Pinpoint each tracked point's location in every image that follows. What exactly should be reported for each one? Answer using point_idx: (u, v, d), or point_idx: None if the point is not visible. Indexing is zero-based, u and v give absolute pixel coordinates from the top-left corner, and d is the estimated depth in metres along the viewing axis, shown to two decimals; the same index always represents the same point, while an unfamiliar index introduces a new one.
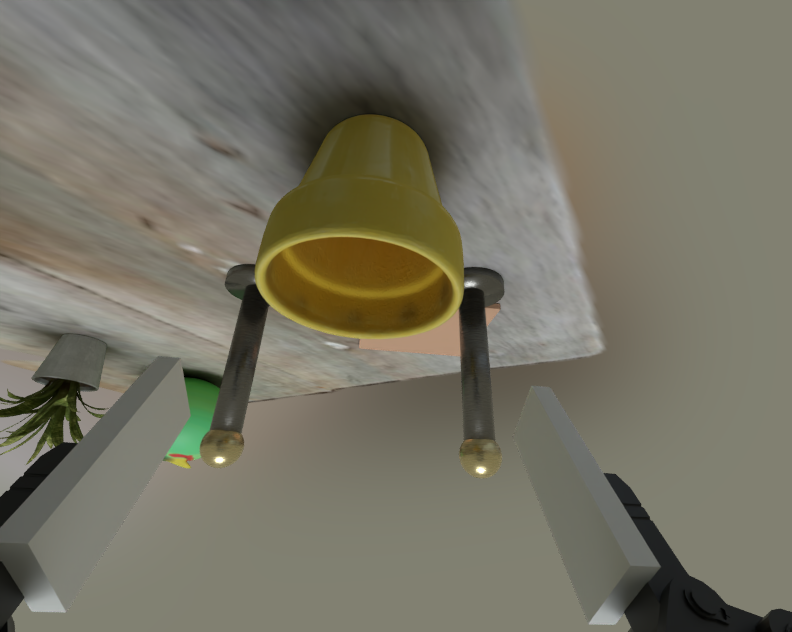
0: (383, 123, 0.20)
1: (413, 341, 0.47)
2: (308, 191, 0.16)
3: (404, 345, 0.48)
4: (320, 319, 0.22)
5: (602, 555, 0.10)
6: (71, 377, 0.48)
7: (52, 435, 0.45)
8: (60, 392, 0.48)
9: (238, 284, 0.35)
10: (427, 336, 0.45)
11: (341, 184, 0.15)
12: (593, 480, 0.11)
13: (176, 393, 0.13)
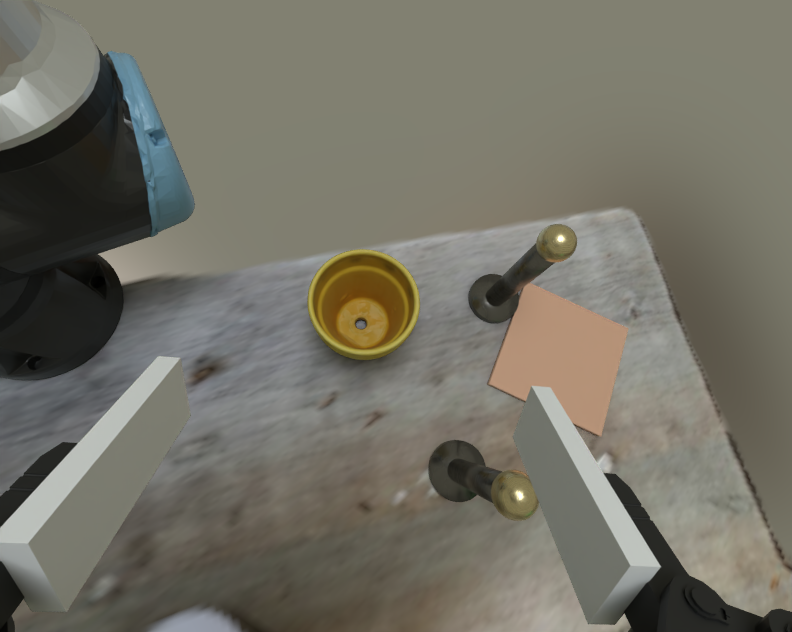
0: None
1: (585, 368, 0.45)
2: None
3: (595, 381, 0.45)
4: (393, 341, 0.34)
5: (602, 555, 0.10)
6: None
7: None
8: None
9: (444, 482, 0.39)
10: (574, 351, 0.45)
11: None
12: (593, 480, 0.11)
13: (176, 393, 0.13)
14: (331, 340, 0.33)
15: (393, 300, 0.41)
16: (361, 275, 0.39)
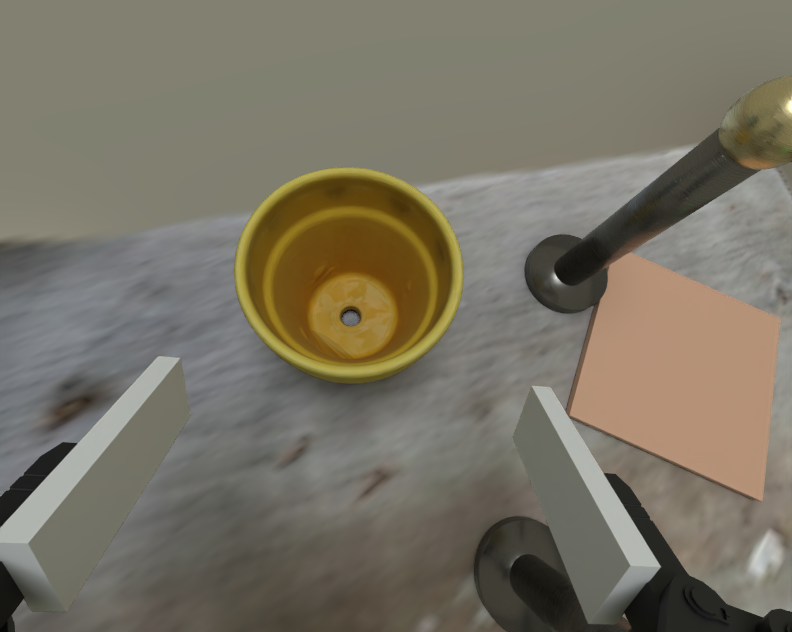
0: None
1: (722, 385, 0.27)
2: None
3: (741, 406, 0.27)
4: (412, 346, 0.17)
5: (602, 555, 0.10)
6: None
7: None
8: None
9: (506, 601, 0.21)
10: (702, 357, 0.28)
11: None
12: (593, 480, 0.11)
13: (176, 393, 0.13)
14: (282, 347, 0.16)
15: (406, 273, 0.23)
16: (348, 227, 0.22)
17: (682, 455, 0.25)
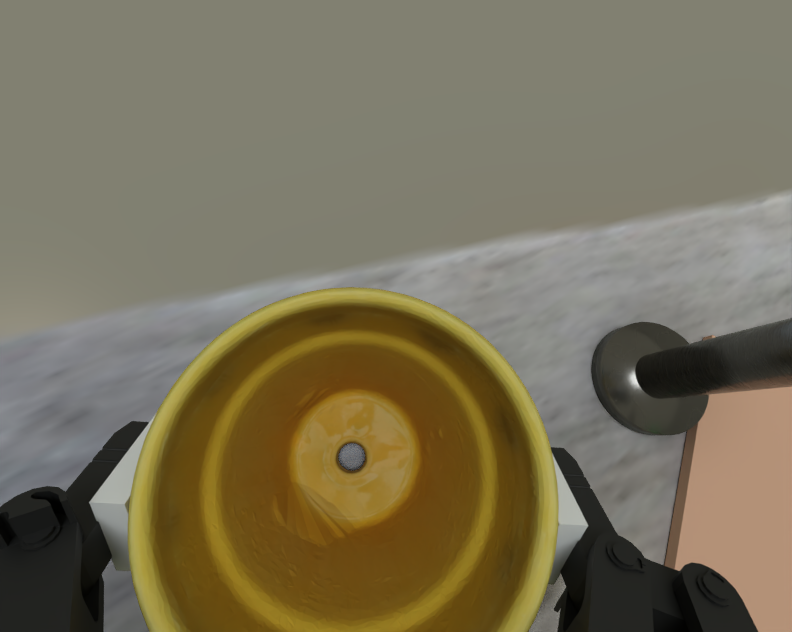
0: None
1: None
2: None
3: None
4: None
5: None
6: None
7: None
8: None
9: None
10: None
11: None
12: None
13: None
14: None
15: (436, 414, 0.15)
16: (349, 353, 0.14)
17: None
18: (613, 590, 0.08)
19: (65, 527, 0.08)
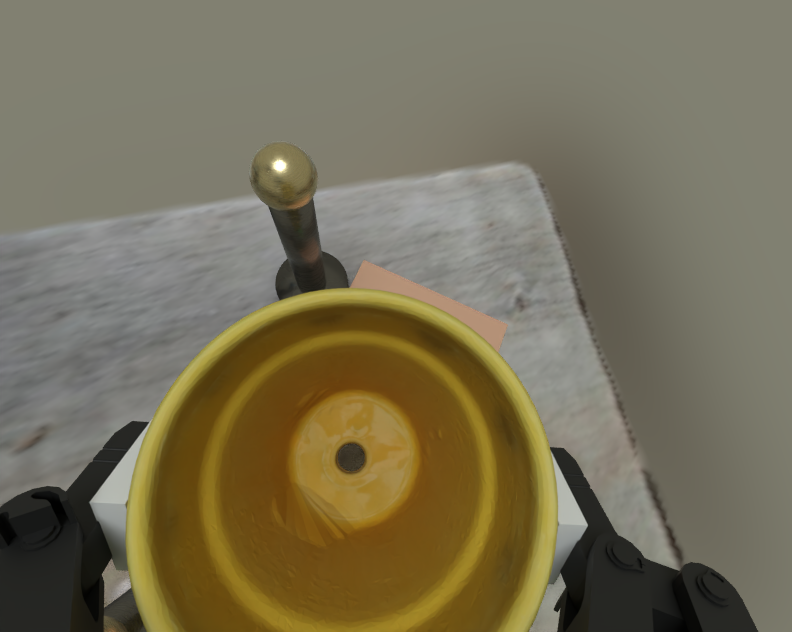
0: None
1: None
2: None
3: None
4: None
5: None
6: None
7: None
8: None
9: None
10: None
11: None
12: None
13: None
14: None
15: (435, 414, 0.15)
16: (348, 354, 0.14)
17: None
18: (613, 590, 0.08)
19: (65, 527, 0.08)
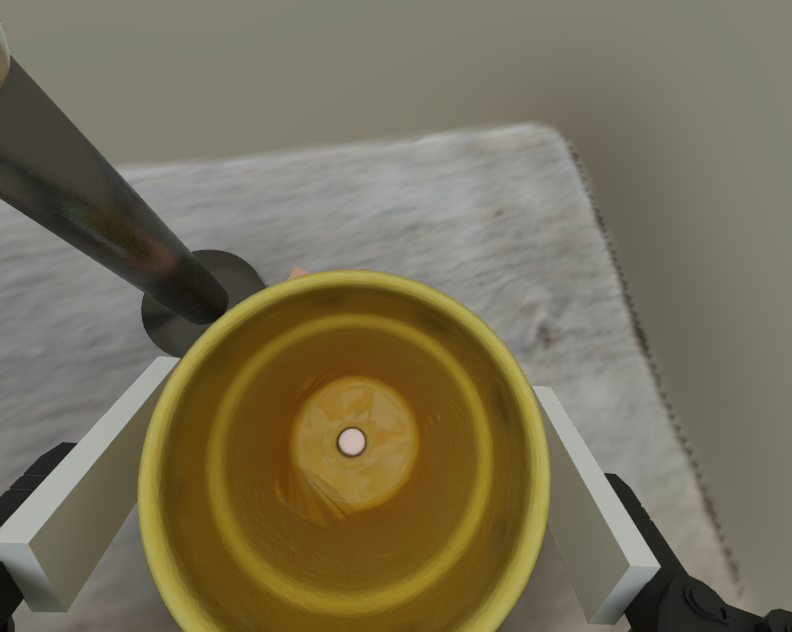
0: None
1: None
2: None
3: None
4: (462, 614, 0.09)
5: (602, 555, 0.10)
6: None
7: None
8: None
9: None
10: None
11: None
12: (593, 480, 0.11)
13: None
14: None
15: (434, 398, 0.15)
16: (350, 338, 0.14)
17: None
18: None
19: None
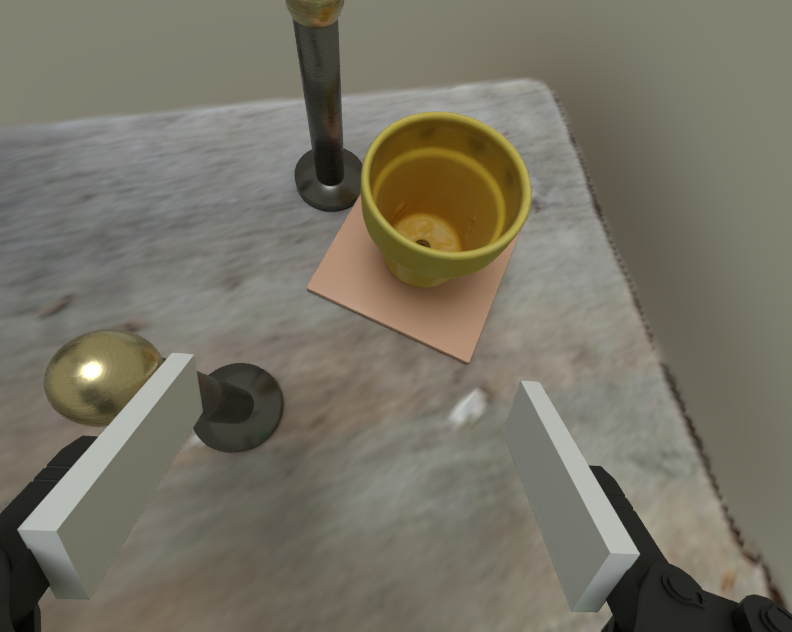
0: None
1: None
2: None
3: (468, 289, 0.31)
4: (494, 242, 0.22)
5: (584, 544, 0.10)
6: None
7: None
8: None
9: (211, 422, 0.26)
10: None
11: None
12: (577, 471, 0.11)
13: (189, 389, 0.13)
14: (401, 236, 0.21)
15: (472, 207, 0.28)
16: (429, 167, 0.27)
17: (403, 323, 0.30)
18: (669, 623, 0.08)
19: None
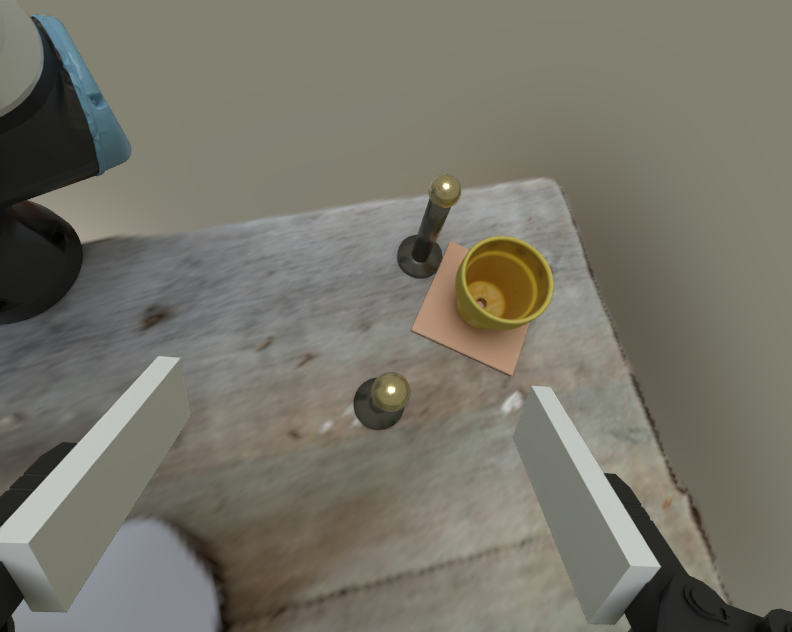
0: None
1: None
2: (456, 288, 0.42)
3: None
4: (533, 312, 0.40)
5: (602, 555, 0.10)
6: None
7: None
8: None
9: (366, 412, 0.44)
10: None
11: (456, 276, 0.43)
12: (593, 480, 0.11)
13: (176, 393, 0.13)
14: (485, 311, 0.39)
15: (514, 281, 0.47)
16: (490, 259, 0.45)
17: (471, 351, 0.48)
18: None
19: None
